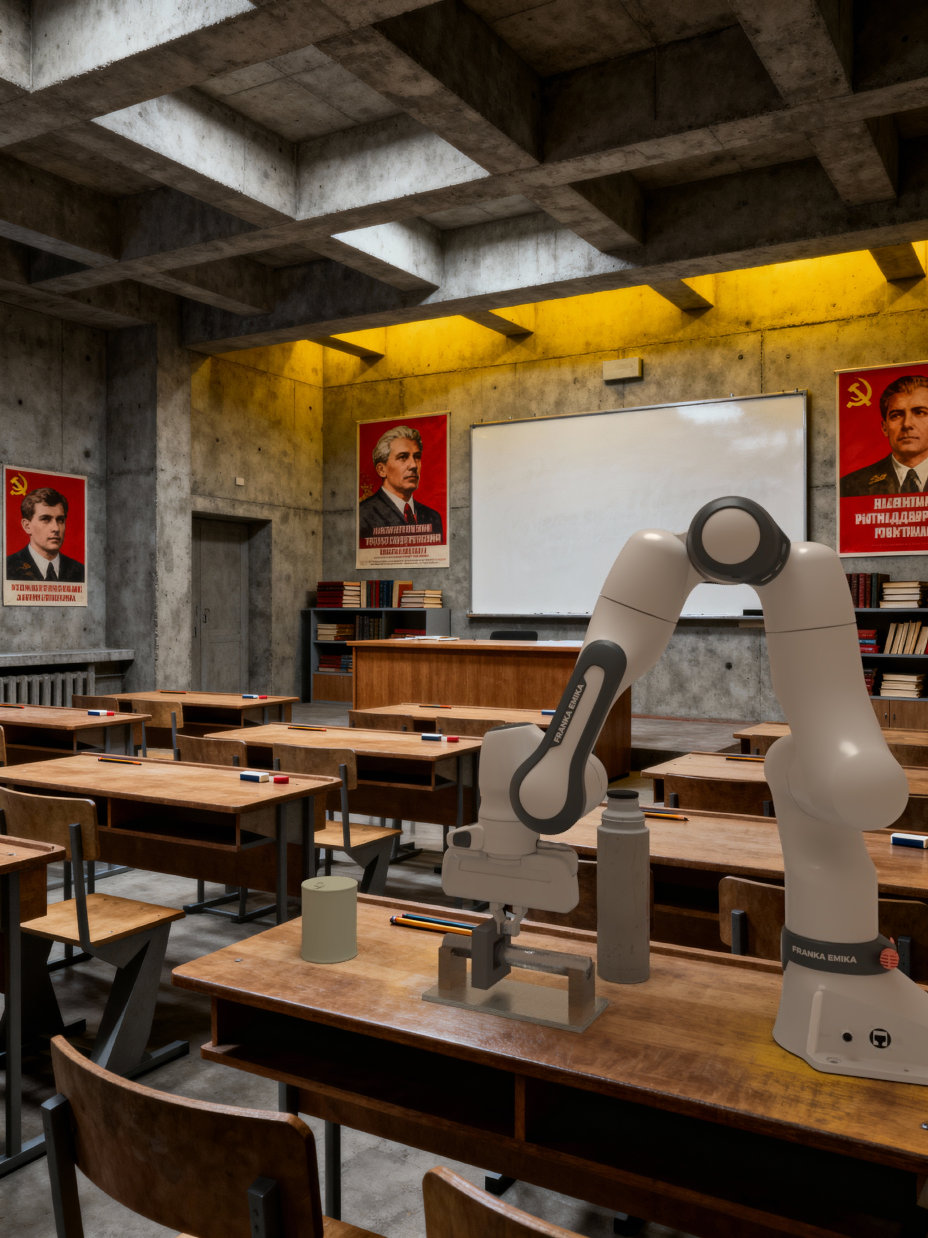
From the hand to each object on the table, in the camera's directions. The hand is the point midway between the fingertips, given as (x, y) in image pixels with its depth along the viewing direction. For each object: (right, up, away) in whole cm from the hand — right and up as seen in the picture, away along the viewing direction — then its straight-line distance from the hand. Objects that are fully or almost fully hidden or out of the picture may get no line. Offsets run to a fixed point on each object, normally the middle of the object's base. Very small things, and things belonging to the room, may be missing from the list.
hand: (508, 934), depth 131 cm
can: (-28, -10, +19) cm, 36 cm away
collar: (-2, -7, +1) cm, 7 cm away
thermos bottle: (+18, -10, +11) cm, 23 cm away
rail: (+1, -9, -1) cm, 9 cm away
